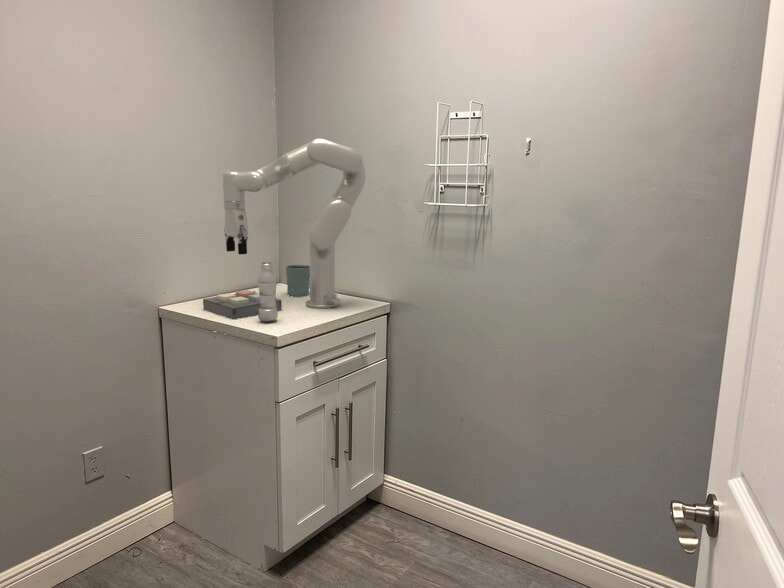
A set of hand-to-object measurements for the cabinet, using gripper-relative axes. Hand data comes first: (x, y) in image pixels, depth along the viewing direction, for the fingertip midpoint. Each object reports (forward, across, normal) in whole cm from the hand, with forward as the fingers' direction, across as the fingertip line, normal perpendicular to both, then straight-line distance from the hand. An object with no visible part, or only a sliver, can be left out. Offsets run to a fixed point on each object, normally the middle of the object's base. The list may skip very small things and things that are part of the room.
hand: (236, 252), depth 215 cm
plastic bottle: (+20, -28, +3) cm, 34 cm away
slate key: (+17, -11, -2) cm, 21 cm away
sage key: (+17, -12, +6) cm, 22 cm away
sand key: (+17, -4, +7) cm, 19 cm away
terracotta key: (+17, -3, -1) cm, 17 cm away
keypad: (+20, -7, +2) cm, 22 cm away
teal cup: (+20, +4, -29) cm, 36 cm away
